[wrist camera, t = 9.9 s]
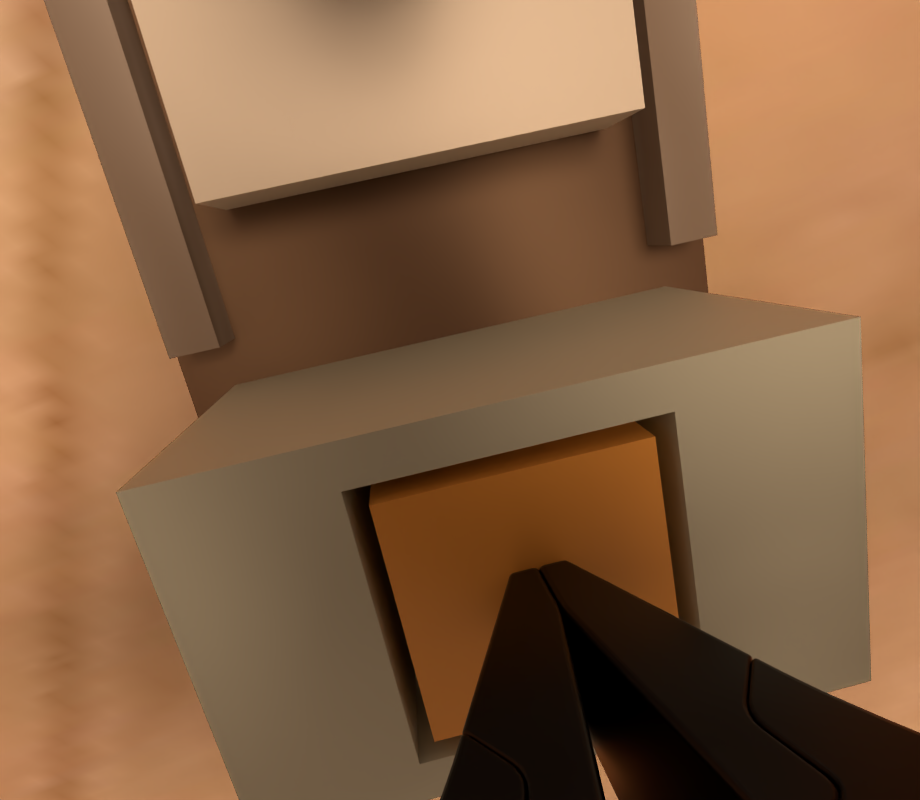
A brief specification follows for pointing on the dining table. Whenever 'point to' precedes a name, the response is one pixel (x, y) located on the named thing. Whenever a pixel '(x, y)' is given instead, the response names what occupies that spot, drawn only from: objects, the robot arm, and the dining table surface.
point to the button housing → (477, 436)
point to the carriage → (378, 85)
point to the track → (397, 219)
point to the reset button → (515, 545)
